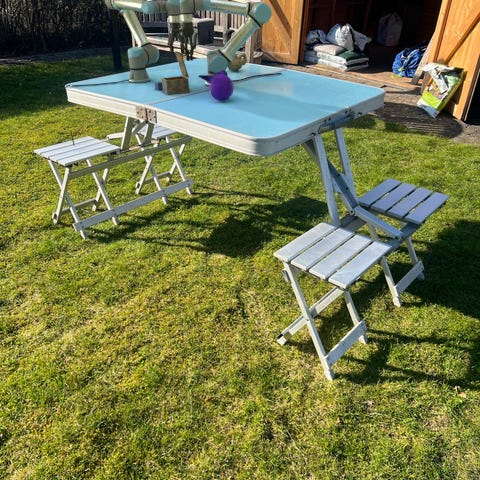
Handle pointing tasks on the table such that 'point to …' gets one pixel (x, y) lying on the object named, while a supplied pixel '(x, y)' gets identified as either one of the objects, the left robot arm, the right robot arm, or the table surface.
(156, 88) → the block
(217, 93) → the toy
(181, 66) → the lid
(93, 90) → the table surface
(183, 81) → the chest
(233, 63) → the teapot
